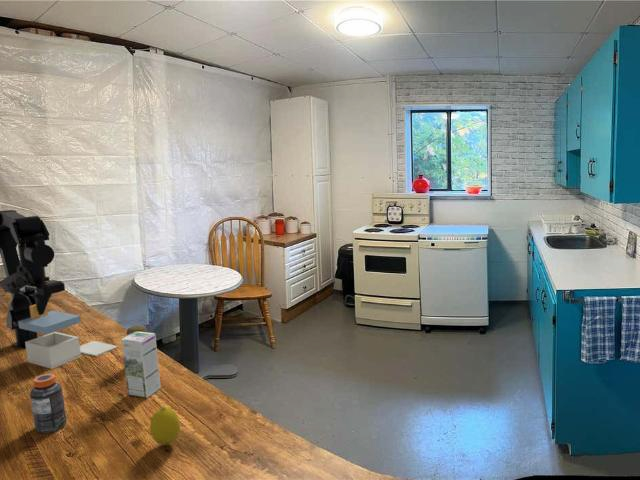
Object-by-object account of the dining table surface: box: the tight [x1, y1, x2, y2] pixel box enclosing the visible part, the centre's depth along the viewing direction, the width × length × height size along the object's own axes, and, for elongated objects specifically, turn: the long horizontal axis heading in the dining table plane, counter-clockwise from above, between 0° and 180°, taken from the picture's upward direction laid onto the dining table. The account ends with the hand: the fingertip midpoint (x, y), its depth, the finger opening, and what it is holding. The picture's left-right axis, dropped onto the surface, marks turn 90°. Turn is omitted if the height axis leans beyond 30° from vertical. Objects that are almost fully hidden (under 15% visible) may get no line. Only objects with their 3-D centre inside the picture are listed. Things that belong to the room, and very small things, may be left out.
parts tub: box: [25, 331, 82, 370], centre depth 142 cm, size 11×9×6 cm
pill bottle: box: [29, 373, 67, 434], centre depth 105 cm, size 6×6×11 cm
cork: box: [126, 324, 148, 336], centre depth 136 cm, size 6×6×11 cm
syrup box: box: [120, 331, 162, 399], centre depth 119 cm, size 6×6×14 cm
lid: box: [18, 304, 82, 335], centre depth 140 cm, size 12×10×6 cm
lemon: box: [149, 406, 181, 446], centre depth 97 cm, size 6×6×8 cm
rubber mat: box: [80, 340, 119, 357], centre depth 149 cm, size 11×8×1 cm
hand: (39, 314), depth 142 cm, fingers closed on lid
